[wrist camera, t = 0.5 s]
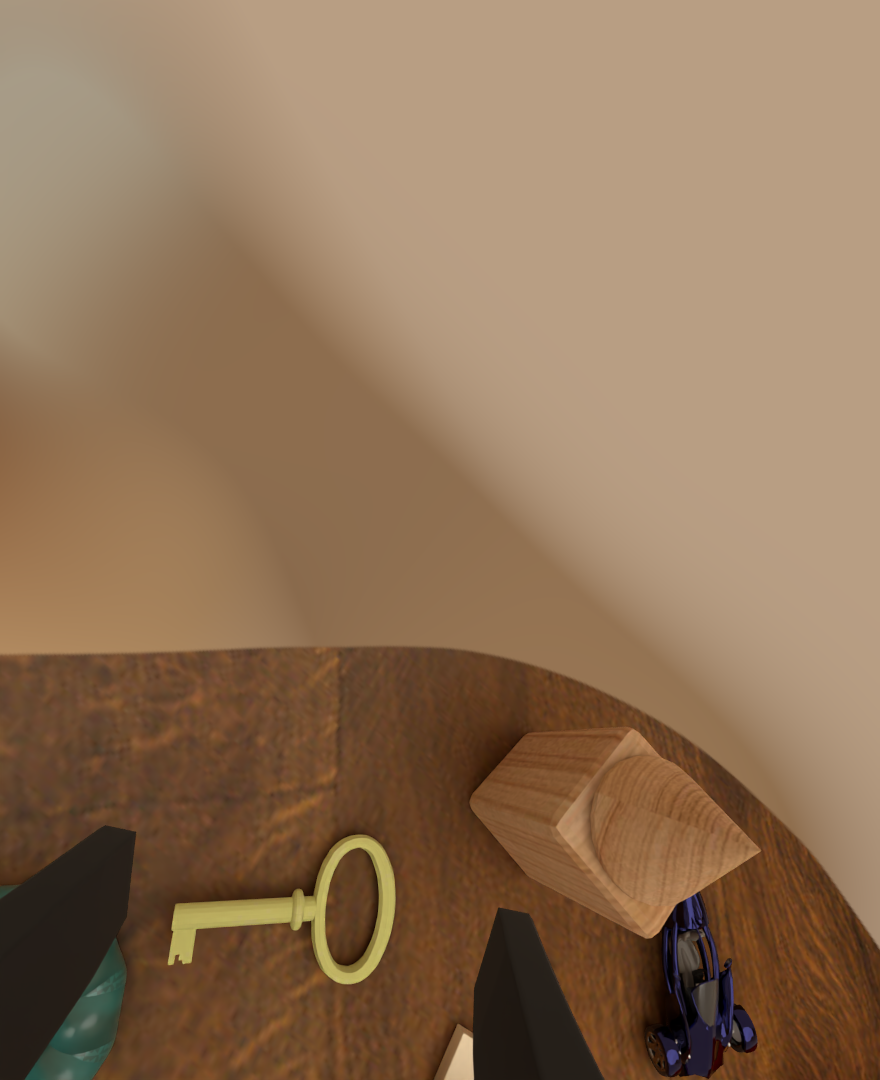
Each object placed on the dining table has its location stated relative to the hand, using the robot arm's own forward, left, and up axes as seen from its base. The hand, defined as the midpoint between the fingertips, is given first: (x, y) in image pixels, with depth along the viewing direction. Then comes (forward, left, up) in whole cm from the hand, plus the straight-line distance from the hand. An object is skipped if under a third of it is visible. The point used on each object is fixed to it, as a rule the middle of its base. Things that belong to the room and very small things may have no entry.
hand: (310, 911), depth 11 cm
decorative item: (+8, -14, -26) cm, 30 cm away
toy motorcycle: (+5, -27, -26) cm, 37 cm away
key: (-4, -4, -26) cm, 26 cm away
